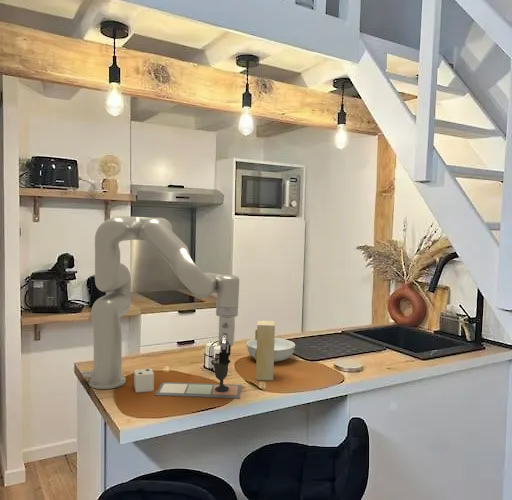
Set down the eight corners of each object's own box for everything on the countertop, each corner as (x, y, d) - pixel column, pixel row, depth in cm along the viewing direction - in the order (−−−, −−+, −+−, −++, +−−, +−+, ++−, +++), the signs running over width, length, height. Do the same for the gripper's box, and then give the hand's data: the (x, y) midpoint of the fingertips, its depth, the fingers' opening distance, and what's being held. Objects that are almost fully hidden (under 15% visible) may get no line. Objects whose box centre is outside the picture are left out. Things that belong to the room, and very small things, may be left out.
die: (135, 392, 164) (136, 375, 164) (134, 386, 170) (134, 369, 169) (153, 390, 166) (153, 373, 166) (151, 384, 172) (151, 368, 171)
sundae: (229, 393, 164) (227, 351, 162) (210, 392, 165) (208, 350, 163) (233, 385, 171) (231, 344, 169) (215, 384, 172) (213, 344, 170)
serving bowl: (304, 359, 207) (305, 343, 207) (272, 370, 192) (272, 353, 191) (268, 349, 221) (269, 334, 221) (235, 358, 206) (236, 342, 206)
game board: (154, 395, 162) (154, 394, 162) (162, 382, 174) (162, 381, 174) (239, 398, 162) (239, 397, 162) (241, 385, 174) (241, 384, 174)
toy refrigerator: (254, 373, 188) (256, 320, 186) (273, 373, 188) (275, 320, 186) (253, 380, 180) (255, 324, 178) (273, 380, 180) (275, 325, 178)
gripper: (236, 317, 157) (234, 368, 158) (239, 306, 174) (236, 352, 176) (213, 315, 157) (211, 366, 159) (218, 305, 174) (216, 351, 176)
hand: (224, 359), depth 167 cm, fingers open, 9 cm apart
